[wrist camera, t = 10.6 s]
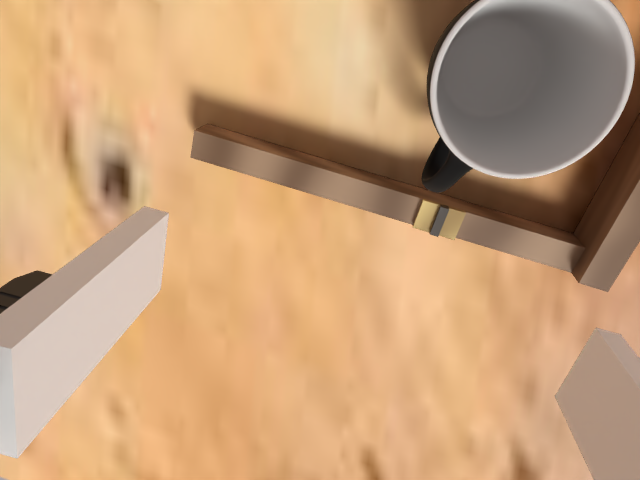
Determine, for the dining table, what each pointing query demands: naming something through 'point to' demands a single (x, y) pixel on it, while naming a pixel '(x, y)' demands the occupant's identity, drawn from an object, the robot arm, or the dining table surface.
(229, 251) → the dining table surface
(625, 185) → the frame
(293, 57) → the dining table surface
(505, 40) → the mug
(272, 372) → the dining table surface
